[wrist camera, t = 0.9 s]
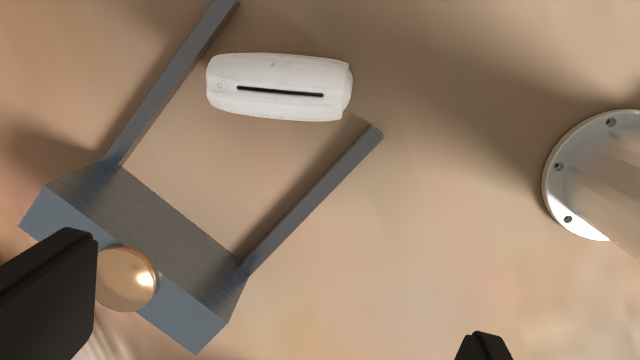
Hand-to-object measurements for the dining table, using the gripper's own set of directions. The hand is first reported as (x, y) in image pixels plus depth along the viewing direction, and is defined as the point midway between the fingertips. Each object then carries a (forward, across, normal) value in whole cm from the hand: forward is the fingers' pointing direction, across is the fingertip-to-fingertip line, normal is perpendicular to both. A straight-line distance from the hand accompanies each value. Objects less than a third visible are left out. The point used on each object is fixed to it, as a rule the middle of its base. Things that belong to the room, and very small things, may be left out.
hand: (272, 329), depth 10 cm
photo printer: (+30, +4, -3) cm, 30 cm away
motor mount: (+29, +9, +7) cm, 32 cm away
